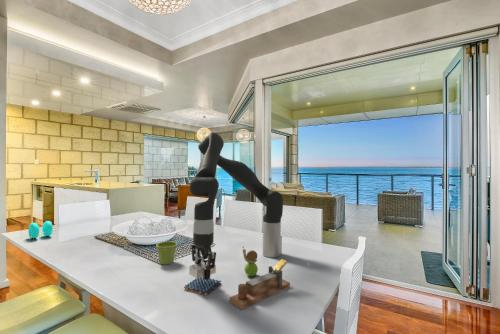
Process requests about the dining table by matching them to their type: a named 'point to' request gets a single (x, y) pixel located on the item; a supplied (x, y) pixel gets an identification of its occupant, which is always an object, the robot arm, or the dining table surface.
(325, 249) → the dining table surface
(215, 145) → the robot arm
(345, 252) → the dining table surface
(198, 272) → the grey rough lump
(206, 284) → the woven mat
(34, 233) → the turquoise egg pair
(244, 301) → the plane body
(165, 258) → the plant pot
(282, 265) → the lever
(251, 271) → the green toy figurine
